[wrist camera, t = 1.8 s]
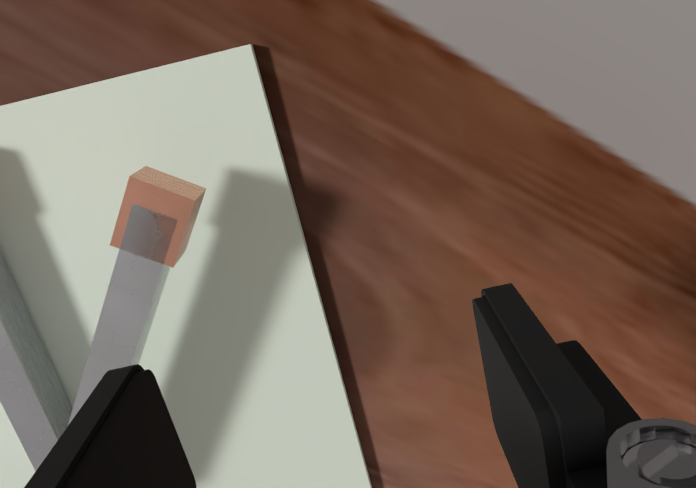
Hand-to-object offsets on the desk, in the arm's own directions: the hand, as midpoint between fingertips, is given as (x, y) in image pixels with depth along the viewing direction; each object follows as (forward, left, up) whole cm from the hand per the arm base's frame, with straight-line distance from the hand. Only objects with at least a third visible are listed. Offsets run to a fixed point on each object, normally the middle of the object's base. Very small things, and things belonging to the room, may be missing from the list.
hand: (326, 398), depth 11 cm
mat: (+6, -13, -18) cm, 23 cm away
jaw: (+5, -11, -14) cm, 19 cm away
